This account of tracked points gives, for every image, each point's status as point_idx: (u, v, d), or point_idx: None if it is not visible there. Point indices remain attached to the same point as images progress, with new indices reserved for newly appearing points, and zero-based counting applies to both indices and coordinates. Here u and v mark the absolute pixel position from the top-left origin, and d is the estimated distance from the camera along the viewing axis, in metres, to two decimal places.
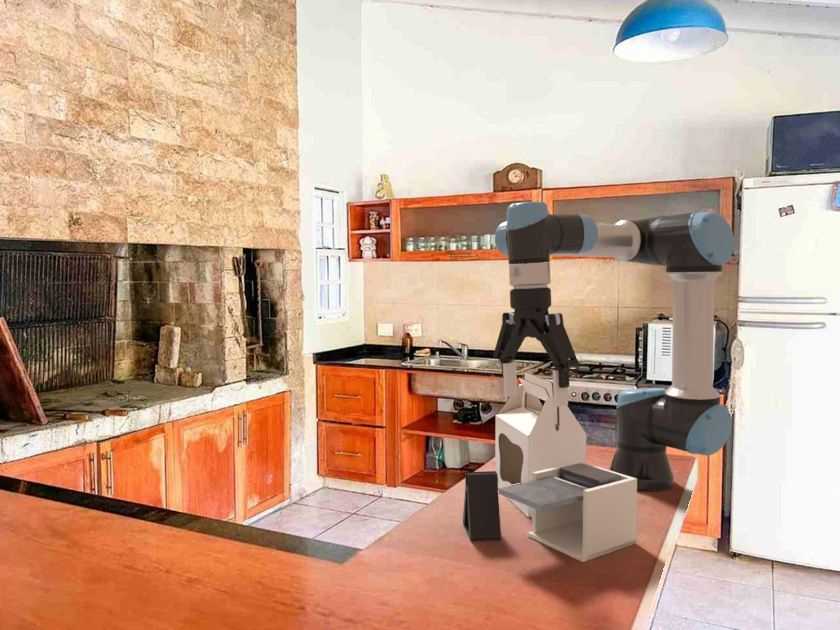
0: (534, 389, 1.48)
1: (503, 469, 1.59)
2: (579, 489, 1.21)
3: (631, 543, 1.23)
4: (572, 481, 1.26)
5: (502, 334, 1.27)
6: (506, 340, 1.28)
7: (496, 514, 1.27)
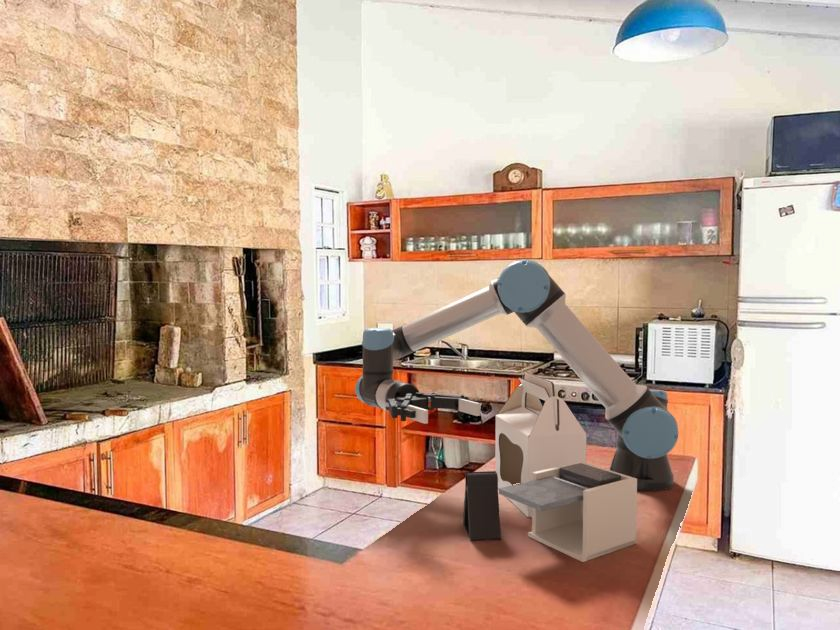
0: (534, 389, 1.48)
1: (503, 469, 1.59)
2: (579, 489, 1.21)
3: (631, 543, 1.23)
4: (572, 481, 1.26)
5: None
6: None
7: (496, 514, 1.27)
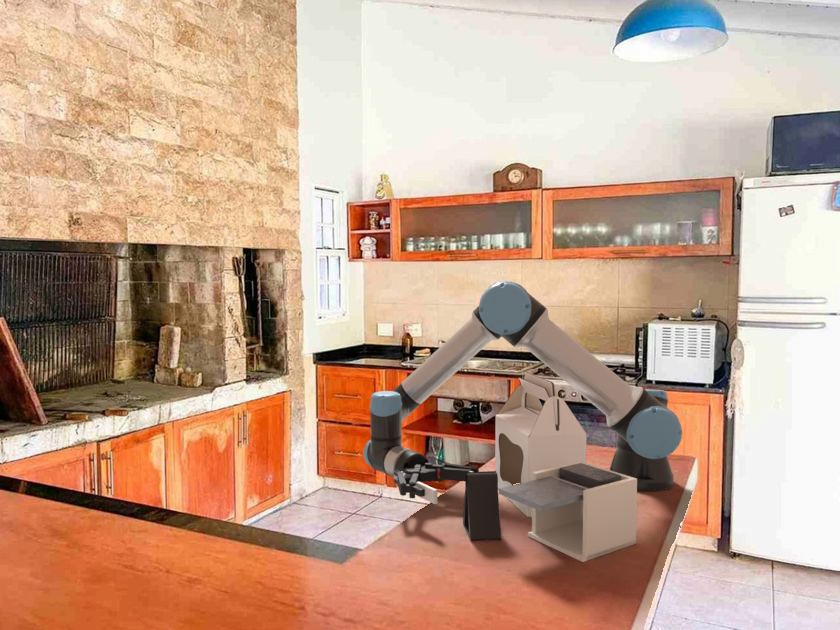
0: (534, 389, 1.48)
1: (503, 469, 1.59)
2: (579, 489, 1.21)
3: (631, 543, 1.23)
4: (572, 481, 1.26)
5: None
6: None
7: (496, 514, 1.27)
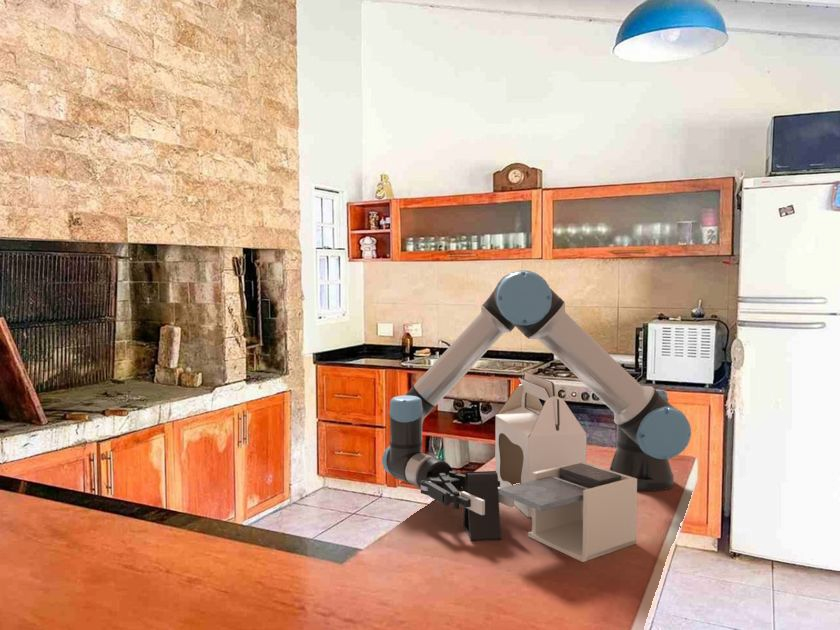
0: (534, 389, 1.48)
1: (503, 469, 1.59)
2: (579, 489, 1.21)
3: (631, 543, 1.23)
4: (572, 481, 1.26)
5: None
6: None
7: (496, 514, 1.27)
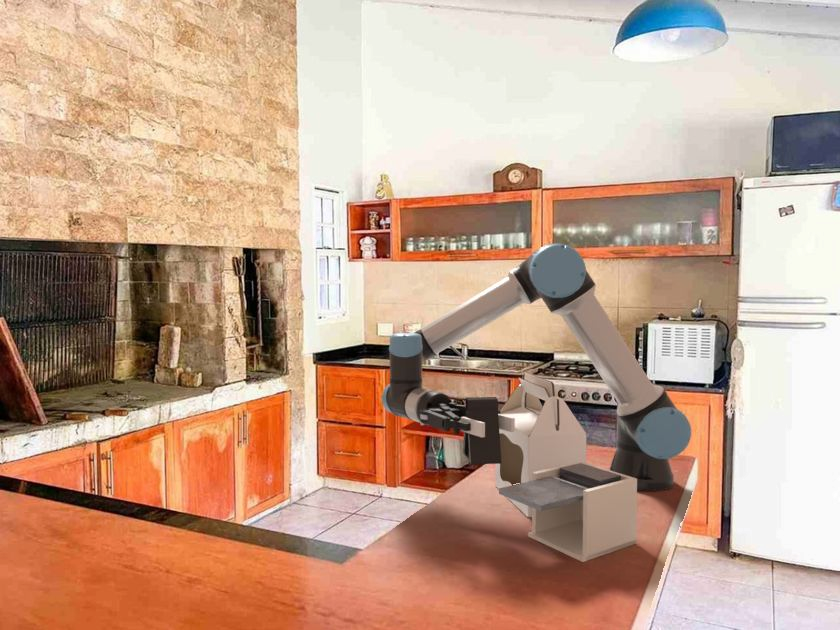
0: (534, 389, 1.48)
1: (503, 469, 1.59)
2: (579, 489, 1.21)
3: (631, 543, 1.23)
4: (572, 481, 1.26)
5: None
6: None
7: (496, 438, 1.26)
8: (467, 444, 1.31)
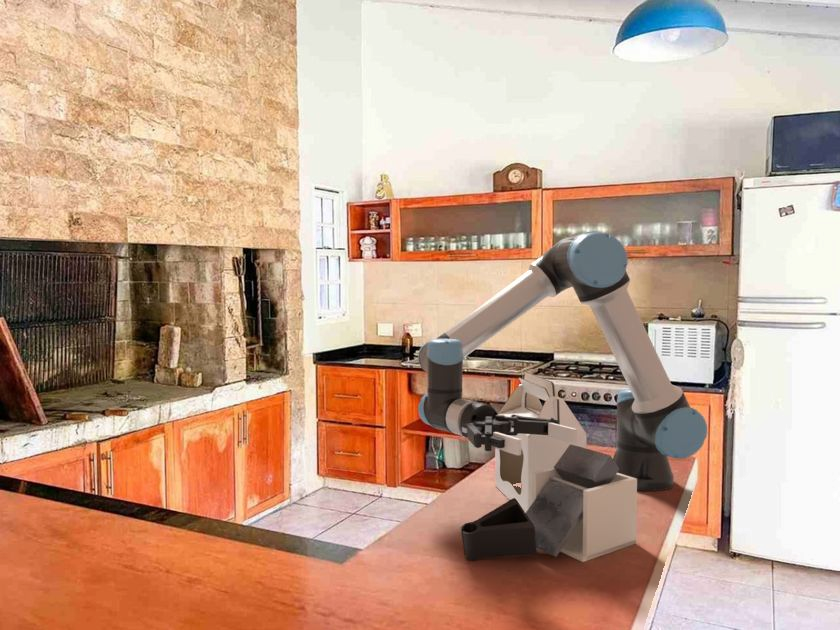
0: (534, 389, 1.48)
1: (503, 469, 1.59)
2: (579, 496, 1.21)
3: (631, 543, 1.23)
4: (570, 477, 1.26)
5: None
6: None
7: (508, 531, 1.15)
8: None
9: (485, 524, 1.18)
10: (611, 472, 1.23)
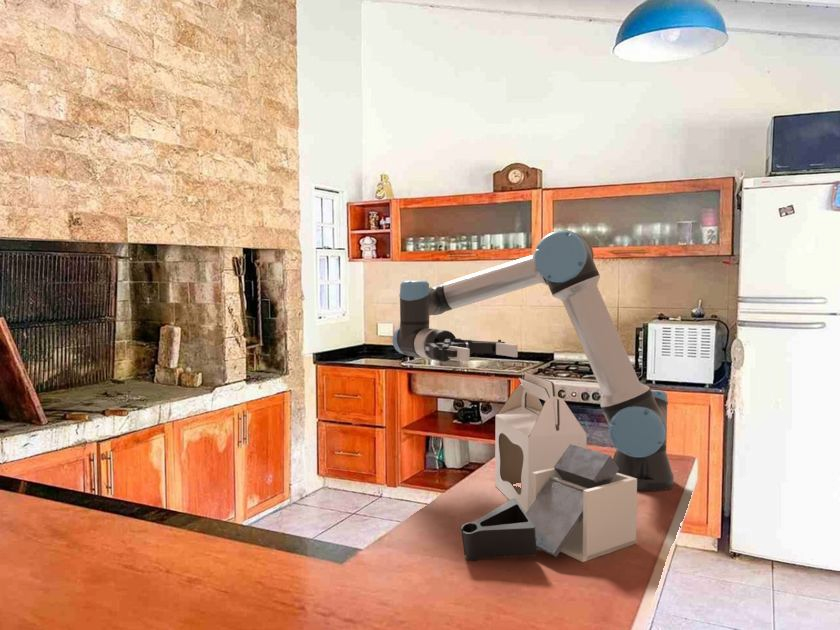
0: (534, 389, 1.48)
1: (503, 469, 1.59)
2: (579, 496, 1.21)
3: (631, 543, 1.23)
4: (570, 477, 1.26)
5: None
6: None
7: (508, 532, 1.15)
8: None
9: (485, 524, 1.18)
10: (611, 472, 1.23)
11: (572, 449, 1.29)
